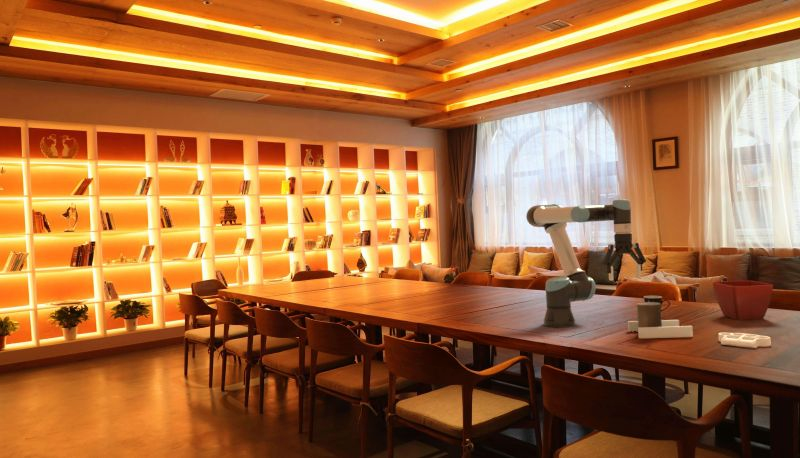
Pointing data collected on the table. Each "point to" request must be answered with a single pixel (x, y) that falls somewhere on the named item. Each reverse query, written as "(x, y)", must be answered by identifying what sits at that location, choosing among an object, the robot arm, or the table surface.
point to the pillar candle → (649, 314)
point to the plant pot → (743, 298)
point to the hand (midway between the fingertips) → (625, 279)
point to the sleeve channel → (662, 330)
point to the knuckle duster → (744, 340)
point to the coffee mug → (655, 300)
